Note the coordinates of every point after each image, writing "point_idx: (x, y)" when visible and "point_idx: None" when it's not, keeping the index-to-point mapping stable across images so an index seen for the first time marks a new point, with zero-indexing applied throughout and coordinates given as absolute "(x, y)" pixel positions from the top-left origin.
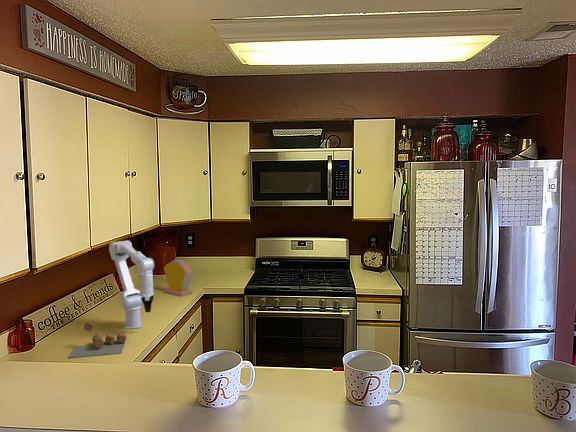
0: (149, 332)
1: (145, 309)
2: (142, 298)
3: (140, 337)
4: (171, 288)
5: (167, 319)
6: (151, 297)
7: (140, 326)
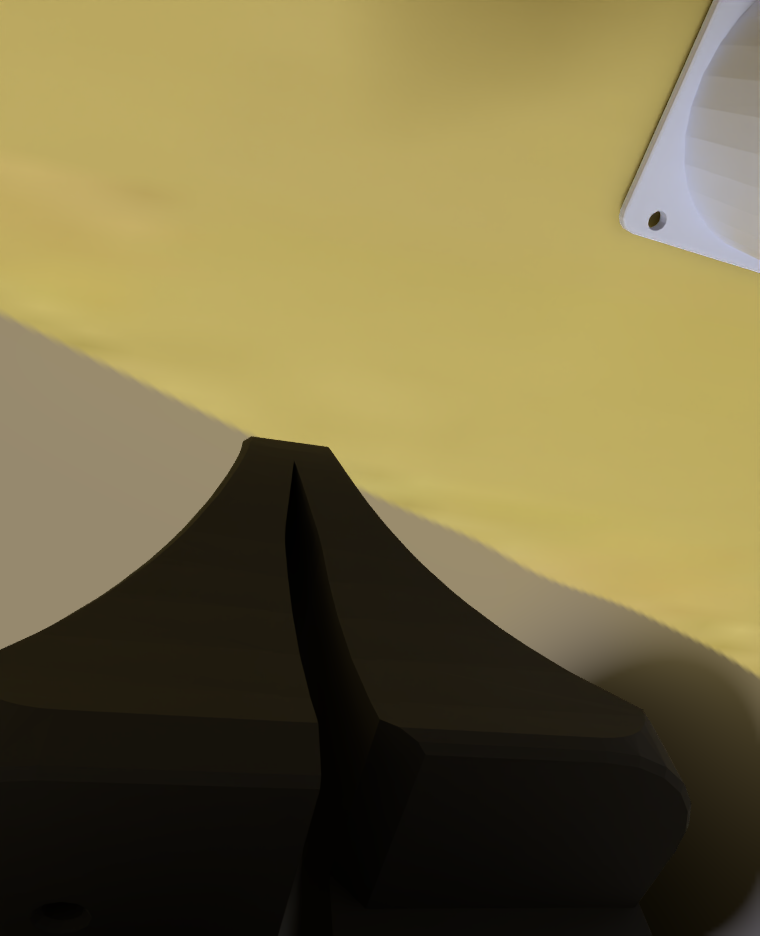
0: (310, 306)
1: (226, 480)
2: (56, 844)
3: (98, 102)
4: None
5: (715, 604)
6: None
7: (661, 226)
